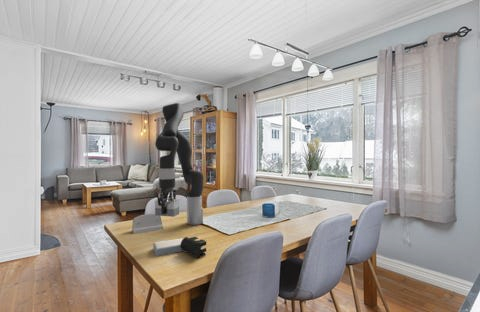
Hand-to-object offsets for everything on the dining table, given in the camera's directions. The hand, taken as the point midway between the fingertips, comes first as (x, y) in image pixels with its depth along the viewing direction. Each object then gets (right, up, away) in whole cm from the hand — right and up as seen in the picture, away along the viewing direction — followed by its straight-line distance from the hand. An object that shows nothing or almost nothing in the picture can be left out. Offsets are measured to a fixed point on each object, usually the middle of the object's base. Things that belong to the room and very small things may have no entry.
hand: (167, 212), depth 121 cm
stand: (+3, -16, -5) cm, 17 cm away
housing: (0, -1, 0) cm, 1 cm away
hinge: (-18, -16, +24) cm, 34 cm away
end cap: (+15, -16, -11) cm, 24 cm away
